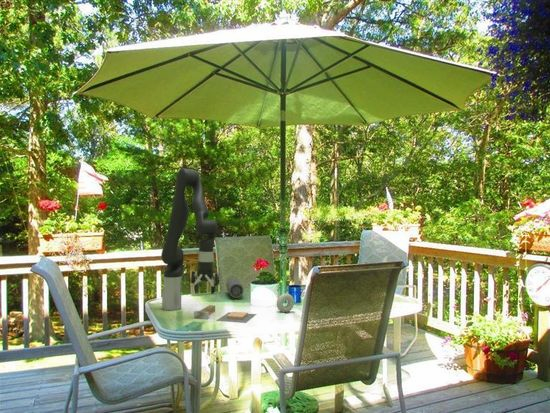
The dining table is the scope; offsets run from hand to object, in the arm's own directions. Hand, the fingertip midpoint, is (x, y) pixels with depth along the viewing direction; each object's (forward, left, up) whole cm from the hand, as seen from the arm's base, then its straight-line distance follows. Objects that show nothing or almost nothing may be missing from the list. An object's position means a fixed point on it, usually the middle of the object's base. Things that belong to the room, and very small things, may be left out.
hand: (204, 292), depth 232 cm
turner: (+1, +2, -12) cm, 12 cm away
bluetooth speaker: (-3, +53, -12) cm, 55 cm away
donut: (+37, +20, -12) cm, 44 cm away
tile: (+17, +6, -11) cm, 21 cm away
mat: (+17, +1, -12) cm, 20 cm away
